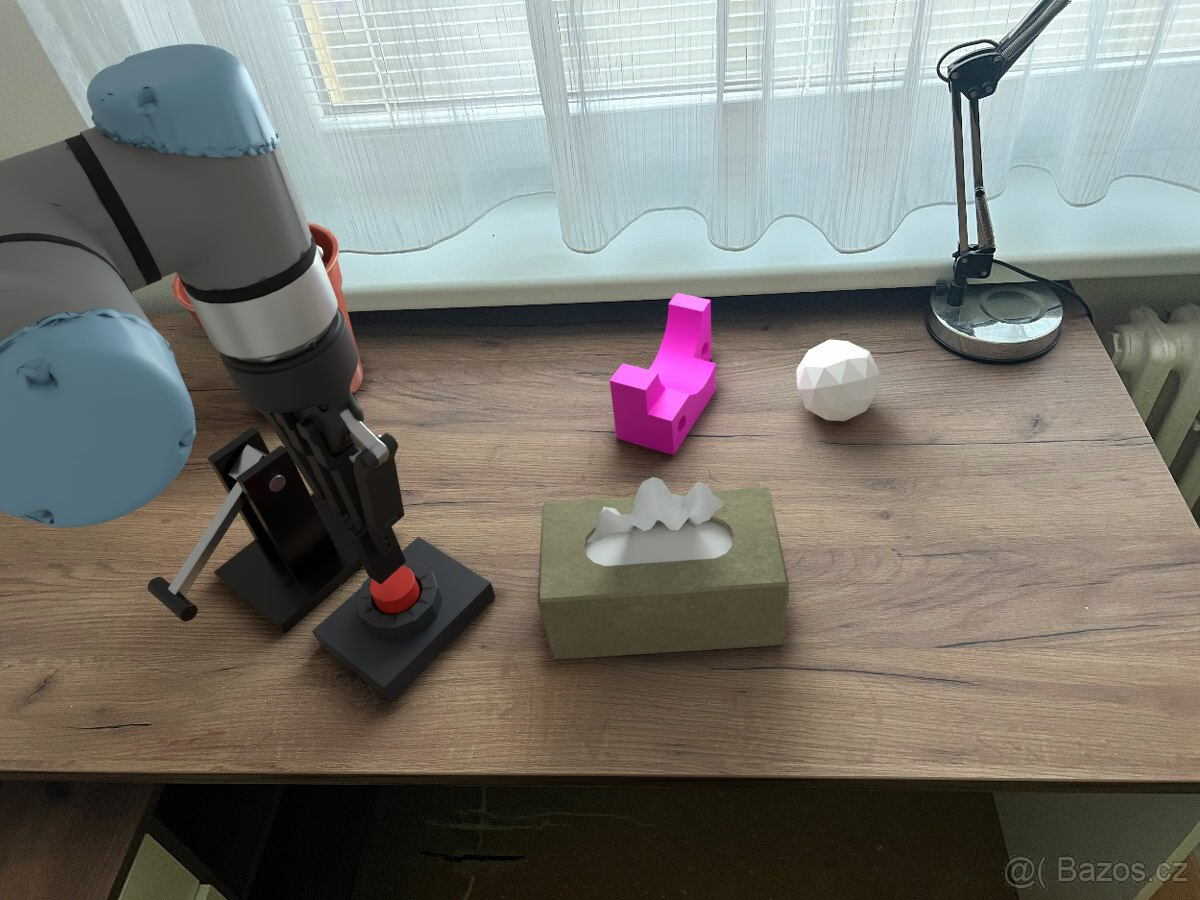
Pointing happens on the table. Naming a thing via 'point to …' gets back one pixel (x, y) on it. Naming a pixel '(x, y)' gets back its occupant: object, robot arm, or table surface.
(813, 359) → the ball
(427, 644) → the button block
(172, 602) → the lever
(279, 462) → the bracket
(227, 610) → the table surface
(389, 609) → the button
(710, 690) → the table surface
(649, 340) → the table surface
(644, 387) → the toy block
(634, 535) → the tissue box
